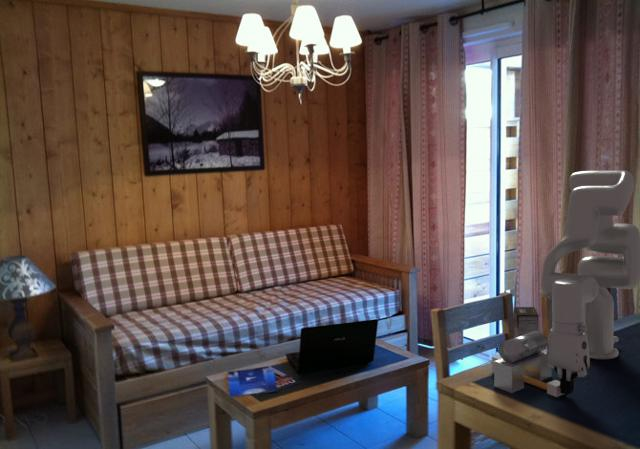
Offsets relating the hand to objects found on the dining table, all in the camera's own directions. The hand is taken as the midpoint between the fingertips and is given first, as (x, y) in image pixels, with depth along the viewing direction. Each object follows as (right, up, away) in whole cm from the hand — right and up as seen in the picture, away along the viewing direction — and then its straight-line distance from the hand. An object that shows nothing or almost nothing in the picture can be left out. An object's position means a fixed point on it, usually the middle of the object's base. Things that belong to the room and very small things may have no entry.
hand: (566, 392), depth 151 cm
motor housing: (-7, 0, +12) cm, 14 cm away
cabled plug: (-7, 0, +12) cm, 14 cm away
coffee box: (-1, +2, +28) cm, 28 cm away
